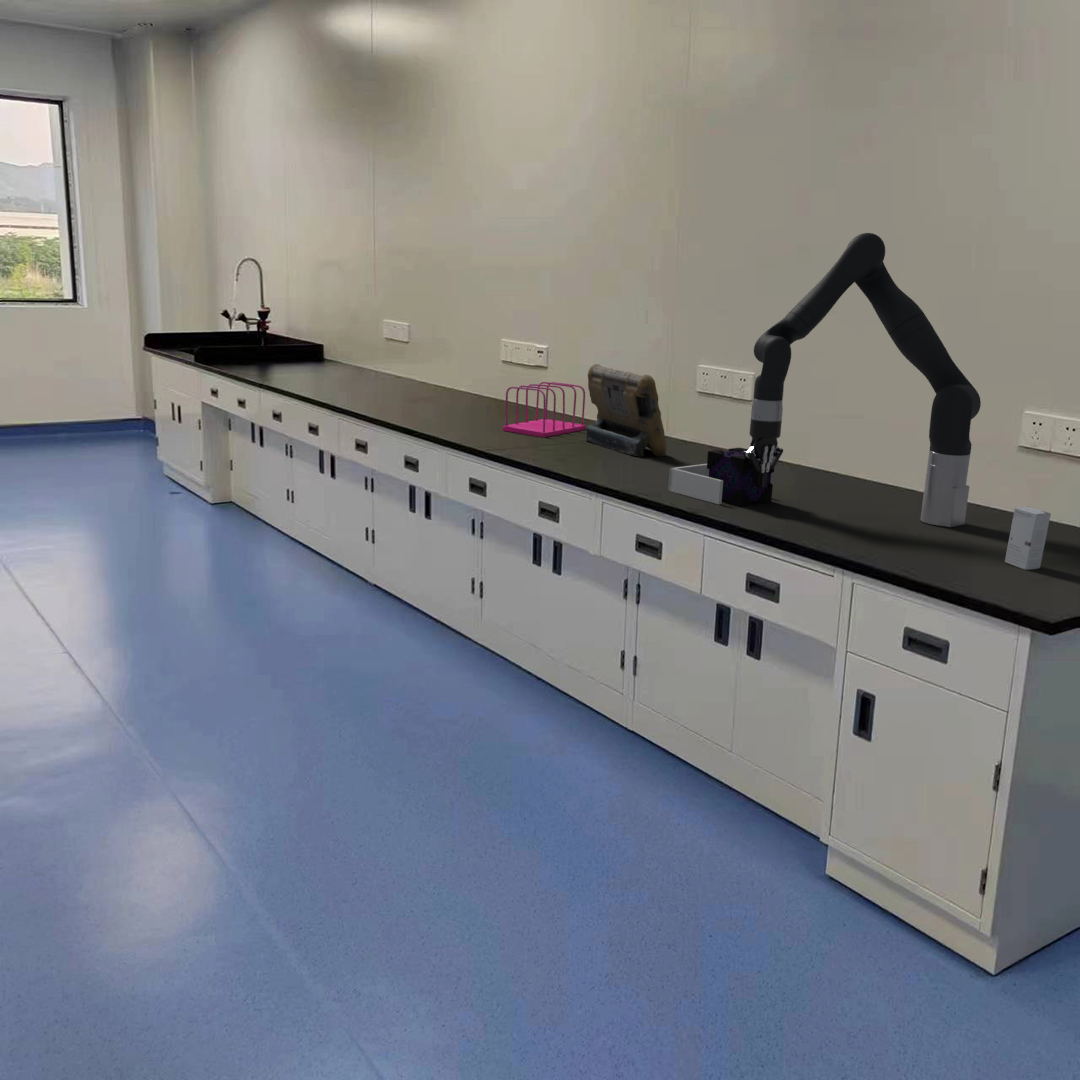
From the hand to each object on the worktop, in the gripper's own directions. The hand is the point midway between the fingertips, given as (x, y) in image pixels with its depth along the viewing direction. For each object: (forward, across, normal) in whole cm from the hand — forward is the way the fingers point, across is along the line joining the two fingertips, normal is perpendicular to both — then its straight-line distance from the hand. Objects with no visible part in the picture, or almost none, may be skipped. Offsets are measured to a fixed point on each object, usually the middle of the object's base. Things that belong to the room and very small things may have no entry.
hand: (760, 486), depth 279 cm
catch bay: (+5, 0, +14) cm, 15 cm away
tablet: (+5, +24, +76) cm, 80 cm away
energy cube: (+5, 0, +7) cm, 9 cm away
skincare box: (+5, +7, -66) cm, 67 cm away
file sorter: (+4, +23, +115) cm, 117 cm away
